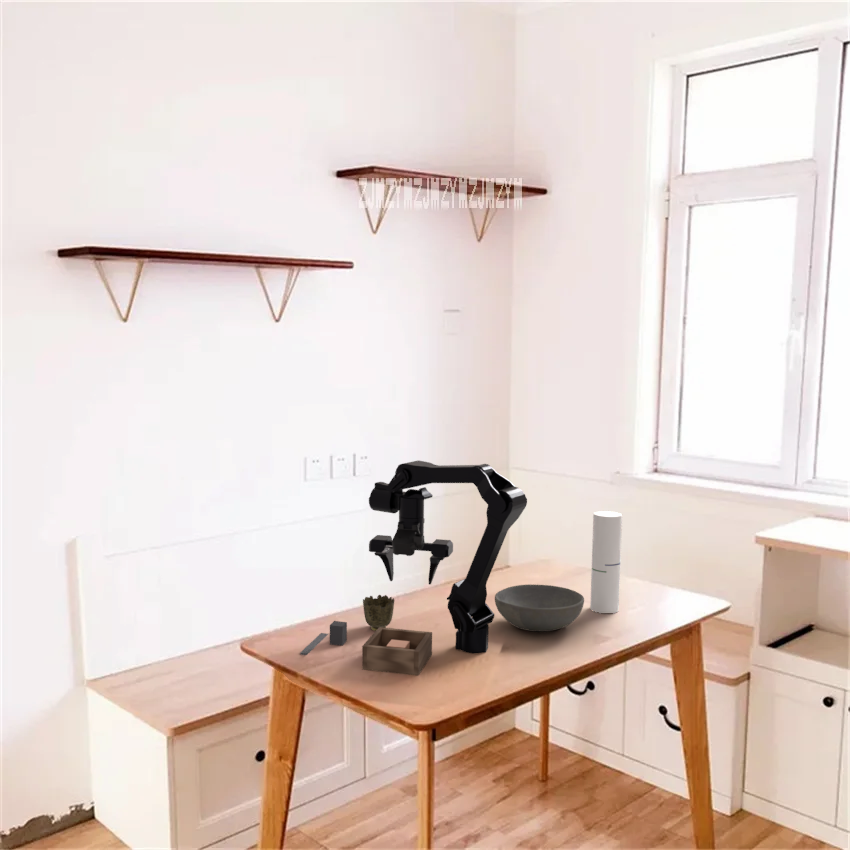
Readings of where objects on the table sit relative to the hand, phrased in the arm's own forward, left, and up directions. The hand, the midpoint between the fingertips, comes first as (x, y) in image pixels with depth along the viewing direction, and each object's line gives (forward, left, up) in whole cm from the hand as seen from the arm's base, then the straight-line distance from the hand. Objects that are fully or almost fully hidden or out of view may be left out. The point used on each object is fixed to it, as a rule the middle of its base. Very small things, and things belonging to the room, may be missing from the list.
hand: (410, 582), depth 204 cm
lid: (+14, +11, -14) cm, 22 cm away
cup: (+8, -1, -13) cm, 15 cm away
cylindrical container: (-43, -33, -13) cm, 56 cm away
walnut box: (-2, +18, -13) cm, 22 cm away
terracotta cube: (-2, +18, -12) cm, 22 cm away
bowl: (-28, -15, -13) cm, 34 cm away
